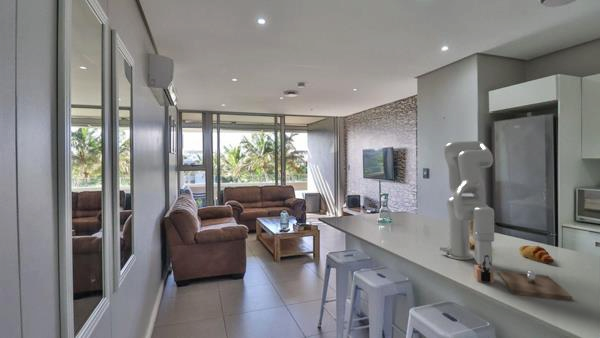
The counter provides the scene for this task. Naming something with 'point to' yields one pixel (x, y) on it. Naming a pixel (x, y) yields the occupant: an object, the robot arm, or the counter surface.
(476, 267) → the collar block
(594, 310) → the counter surface
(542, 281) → the walnut board
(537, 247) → the croissant
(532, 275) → the steel pin
